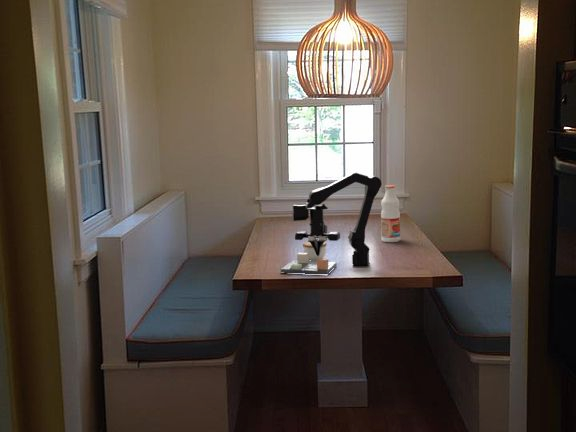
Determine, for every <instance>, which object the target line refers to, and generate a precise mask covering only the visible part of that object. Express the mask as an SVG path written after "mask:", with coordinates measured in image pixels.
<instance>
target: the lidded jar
mask: <svg viewBox="0 0 576 432" xmlns="http://www.w3.org/2000/svg"><path fill="white" fill-rule="evenodd" d="M302 249H303V253H308V261H309V260H311V261H317V259H319V258H325V256H326V253H327V241H325V242H324V243H323V245H322V248H321V252H320V255H319V256H317V255H316V252H315V250H314V248H313V246H312V245H311V243H310V242H308V241H304V242H302Z"/></svg>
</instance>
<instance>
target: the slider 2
mask: <svg viewBox="0 0 576 432" xmlns="http://www.w3.org/2000/svg"><path fill="white" fill-rule="evenodd" d="M328 262H329V258H326V257H323V258H319V259H317V269H322V270H327V269H328Z"/></svg>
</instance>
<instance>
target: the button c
mask: <svg viewBox="0 0 576 432" xmlns="http://www.w3.org/2000/svg"><path fill="white" fill-rule="evenodd" d="M291 269H298V270H301V269H302V264H292V265H291Z"/></svg>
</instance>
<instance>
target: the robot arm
mask: <svg viewBox="0 0 576 432" xmlns="http://www.w3.org/2000/svg"><path fill="white" fill-rule="evenodd" d="M354 183H356V184H357V183H358V184H361V185H364V197H363V200H362V204H361V207H360V211H359V214H358V217H357V221H356V225H355V227H354V228H353V229H349V235H348V237H347V239H348V243H349V245H350V246H351V247H352V248H353V249H354V251H353V254H352V256H351V259H352V260H351V261H352V263H351V264H352V267H354V266H368V265H369V264H371V262H370V247H369V246H368V245H367V244H366V243H365V239H366V227H367V224H368V220H369V217H370V215H371V212H372V211H371V210H372V206H373V203H374V200H375V198H376V196H377V195H378V193H379V192H380V190H381V186H382V181H381V179H380V178H379V177H378V176H376V175H366V174H361V173H358V172H357V171H352V172H350V173H349V174H348V175H345V176H344V177H342V178H340V179H338V180H336V181H334V182H332V183H331V184H329V185H326V186H323V187H318V188H316V189H313V190H311V191H310V192H309V194H308V198H307V200H306V201H305V203H304V204H301V205H298V204H292V212H291V213H292V214H291V215H292V216H291V217H292V221H293V222H301V221H302V222H304V221H307V220H308V219H309V221H310V222H309V226H310V232H309V233H308V231H306V230H305V231H304V230H303V231H302V230H299V231H297V232H296V233H295V234H294V240H295V241H298V240H299V241H302V240H303V239H305V238H306V239H308V240H307V242H310V243H311V245H312V246H313V248H314V250H315V252H316V255H317V256H319V255H320V252H321V248H322V245H323V243H324V242H327V241H328V240H329V242H333V241H334V242H335V241H338V240H340V239H341V233H340V232H339V231H331V232H329V233H328V225H326V224H325V220H324V210H328V209H329V208H328V206H327V205H325V203H323V202H325V201H326V200H327V199H328V198H330V196H332V195H333V194H335V193H337V192H339V191H341V190H343V189H345V188H347V187H349V186H351V185H353V184H354ZM369 266H370V265H369ZM369 266H368V267H369Z"/></svg>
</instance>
